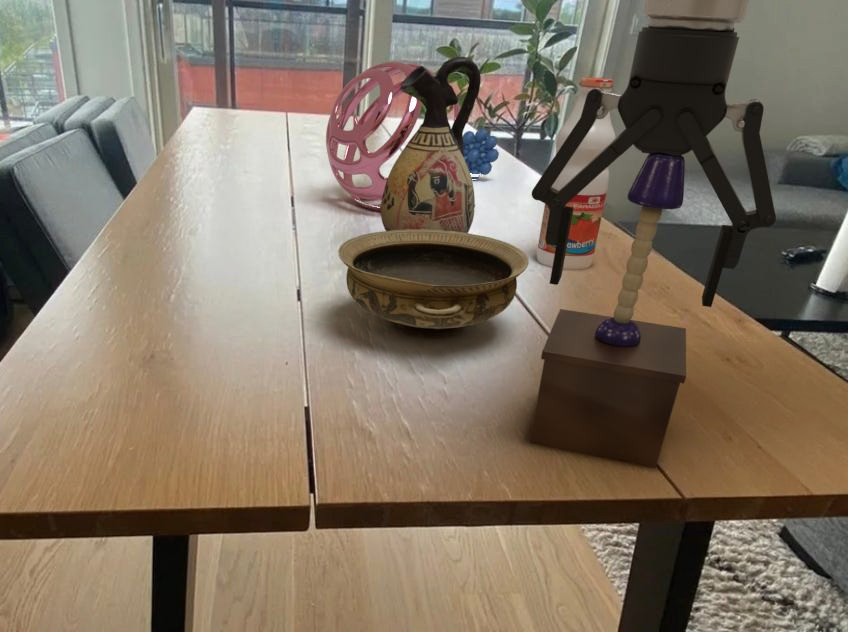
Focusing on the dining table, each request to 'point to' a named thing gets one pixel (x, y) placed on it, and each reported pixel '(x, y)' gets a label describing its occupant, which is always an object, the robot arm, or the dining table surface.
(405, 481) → the dining table surface
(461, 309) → the ceramic bowl
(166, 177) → the dining table surface
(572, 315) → the brown wooden box
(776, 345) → the dining table surface
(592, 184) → the fruit juice
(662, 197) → the toy lamp
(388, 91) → the spiral basket
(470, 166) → the grapes
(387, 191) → the ceramic jug
